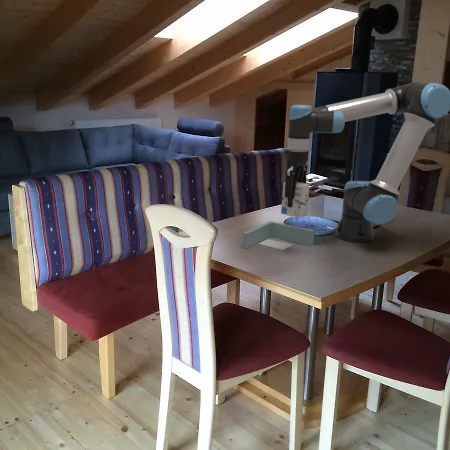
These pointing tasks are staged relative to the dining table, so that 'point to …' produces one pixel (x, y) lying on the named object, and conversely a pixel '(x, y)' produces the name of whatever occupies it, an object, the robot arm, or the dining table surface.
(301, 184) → the ink box
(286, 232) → the teal angle bracket
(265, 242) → the pad
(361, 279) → the dining table surface
